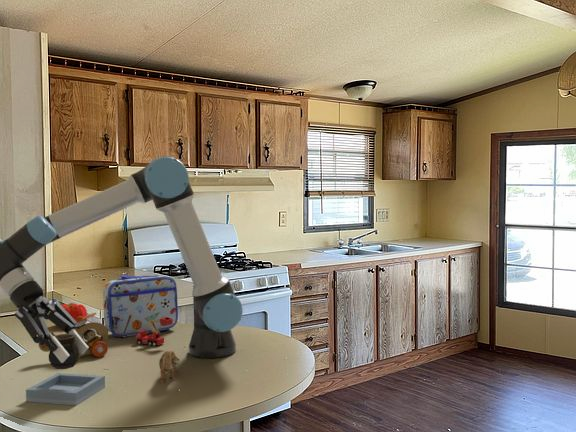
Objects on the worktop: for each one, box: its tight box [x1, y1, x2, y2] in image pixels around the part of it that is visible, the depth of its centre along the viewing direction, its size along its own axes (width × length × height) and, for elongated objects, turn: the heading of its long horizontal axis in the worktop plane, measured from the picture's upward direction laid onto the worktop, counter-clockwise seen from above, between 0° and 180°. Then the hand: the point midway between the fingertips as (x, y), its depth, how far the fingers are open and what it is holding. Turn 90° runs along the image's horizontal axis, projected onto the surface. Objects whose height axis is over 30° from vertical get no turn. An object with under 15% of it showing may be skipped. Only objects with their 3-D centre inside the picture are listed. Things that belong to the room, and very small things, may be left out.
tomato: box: [60, 302, 88, 321], centre depth 219 cm, size 13×12×8 cm
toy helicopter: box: [38, 312, 109, 359], centre depth 175 cm, size 8×21×14 cm, turn 122°
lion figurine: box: [158, 350, 180, 383], centre depth 155 cm, size 15×5×9 cm, turn 16°
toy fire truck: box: [135, 317, 173, 347], centre depth 190 cm, size 3×14×10 cm, turn 68°
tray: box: [25, 372, 106, 406], centre depth 143 cm, size 14×13×3 cm
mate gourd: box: [48, 331, 79, 370], centre depth 143 cm, size 7×8×10 cm
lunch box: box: [102, 274, 179, 338], centre depth 206 cm, size 28×10×22 cm, turn 122°
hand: (75, 354), depth 142 cm, fingers closed on mate gourd, 7 cm apart
